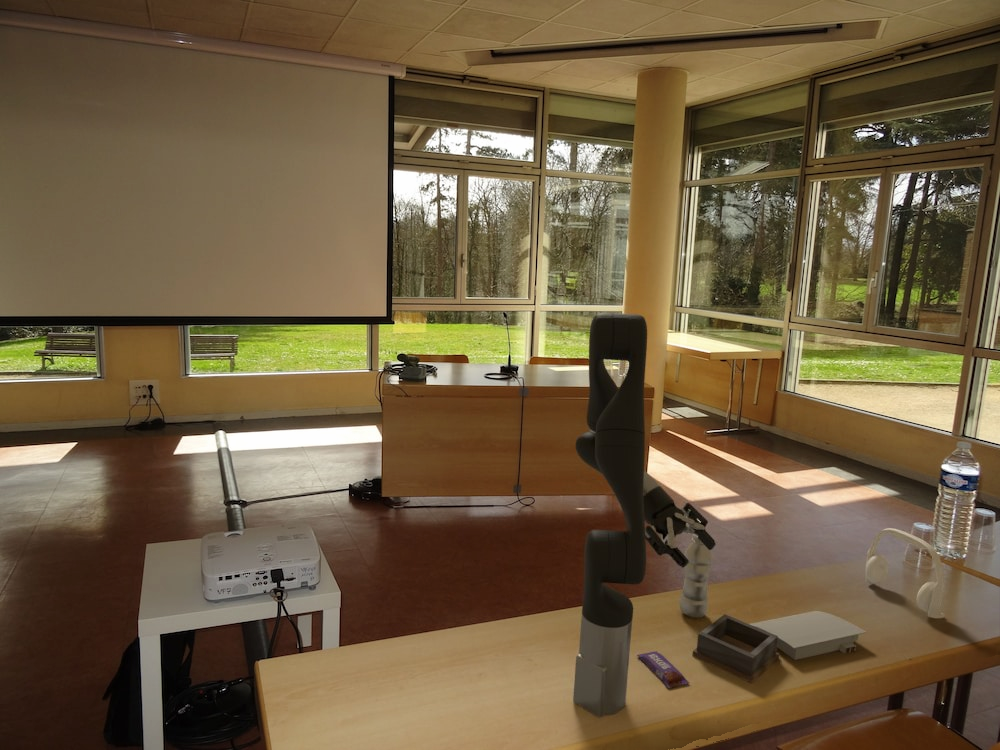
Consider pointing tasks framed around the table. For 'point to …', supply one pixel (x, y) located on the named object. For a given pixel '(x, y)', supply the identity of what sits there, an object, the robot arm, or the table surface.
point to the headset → (879, 567)
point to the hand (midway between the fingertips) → (700, 556)
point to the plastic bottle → (696, 579)
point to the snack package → (663, 669)
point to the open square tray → (737, 647)
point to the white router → (811, 633)
